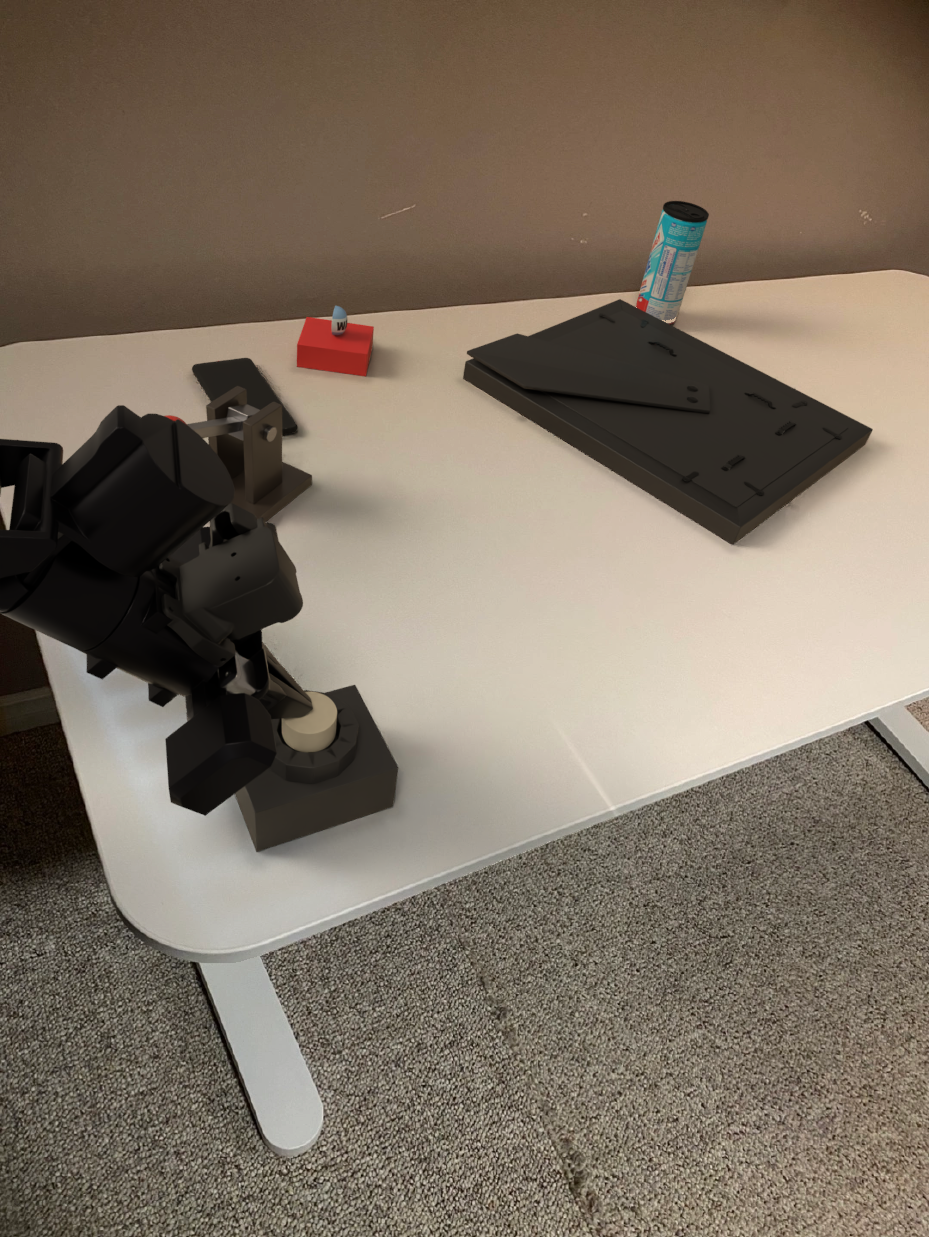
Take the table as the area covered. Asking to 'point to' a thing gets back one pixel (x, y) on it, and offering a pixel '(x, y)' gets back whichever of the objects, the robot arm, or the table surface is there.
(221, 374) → the smartphone
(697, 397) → the picture frame
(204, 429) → the power switch
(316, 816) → the block
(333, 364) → the red low topped box
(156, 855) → the table surface
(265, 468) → the switch bracket
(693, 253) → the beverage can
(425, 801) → the table surface
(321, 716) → the stop button
